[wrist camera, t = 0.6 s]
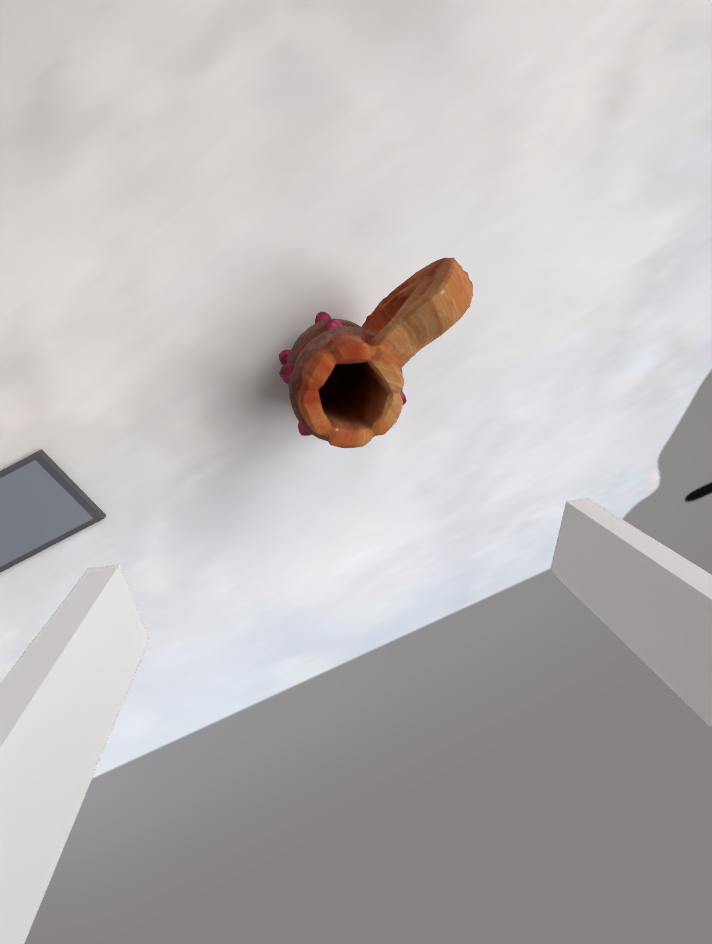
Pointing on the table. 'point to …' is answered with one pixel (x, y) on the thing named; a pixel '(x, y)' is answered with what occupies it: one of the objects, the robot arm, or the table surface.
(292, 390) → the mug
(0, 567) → the phone
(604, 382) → the table surface
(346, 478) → the table surface
